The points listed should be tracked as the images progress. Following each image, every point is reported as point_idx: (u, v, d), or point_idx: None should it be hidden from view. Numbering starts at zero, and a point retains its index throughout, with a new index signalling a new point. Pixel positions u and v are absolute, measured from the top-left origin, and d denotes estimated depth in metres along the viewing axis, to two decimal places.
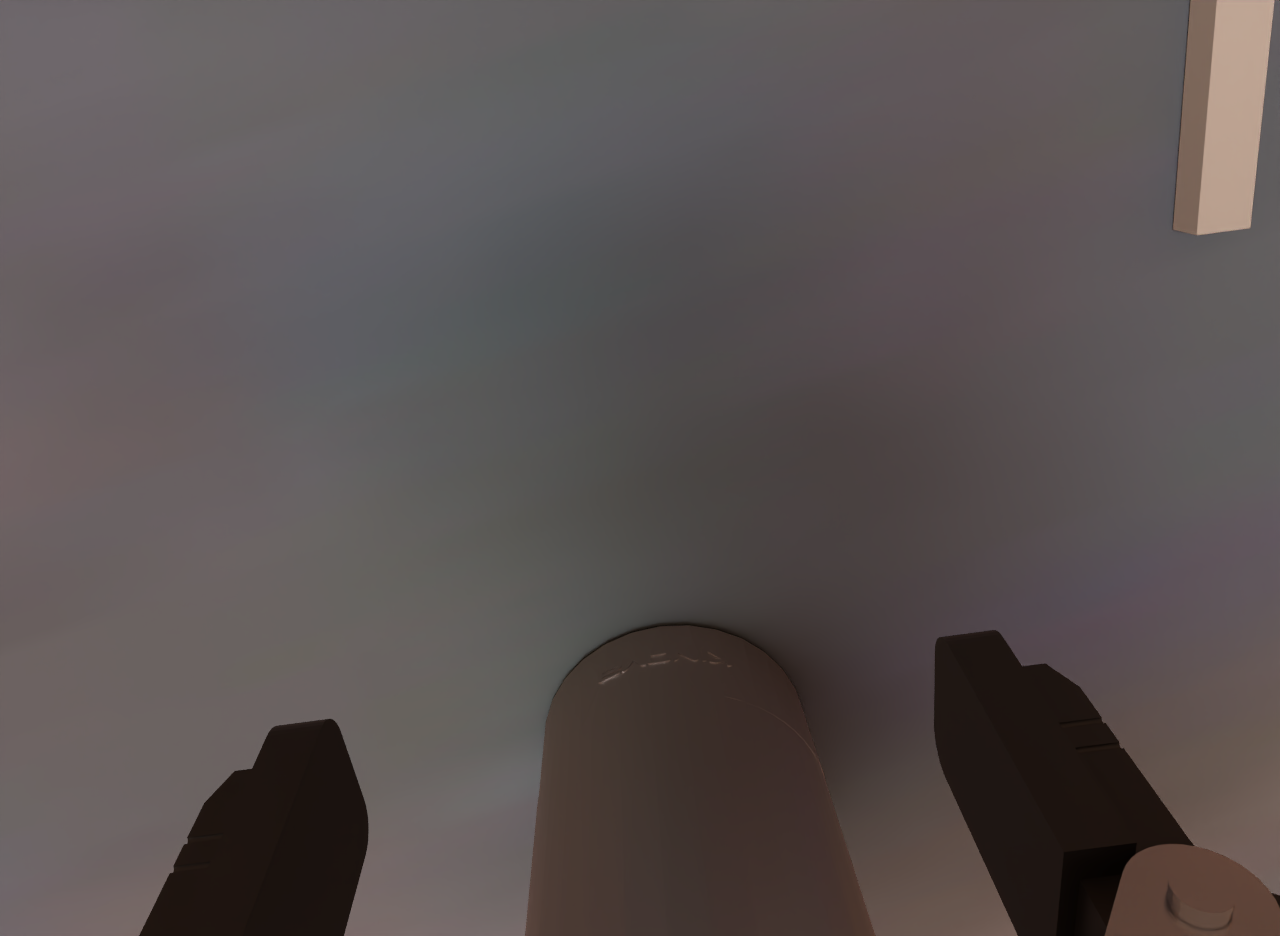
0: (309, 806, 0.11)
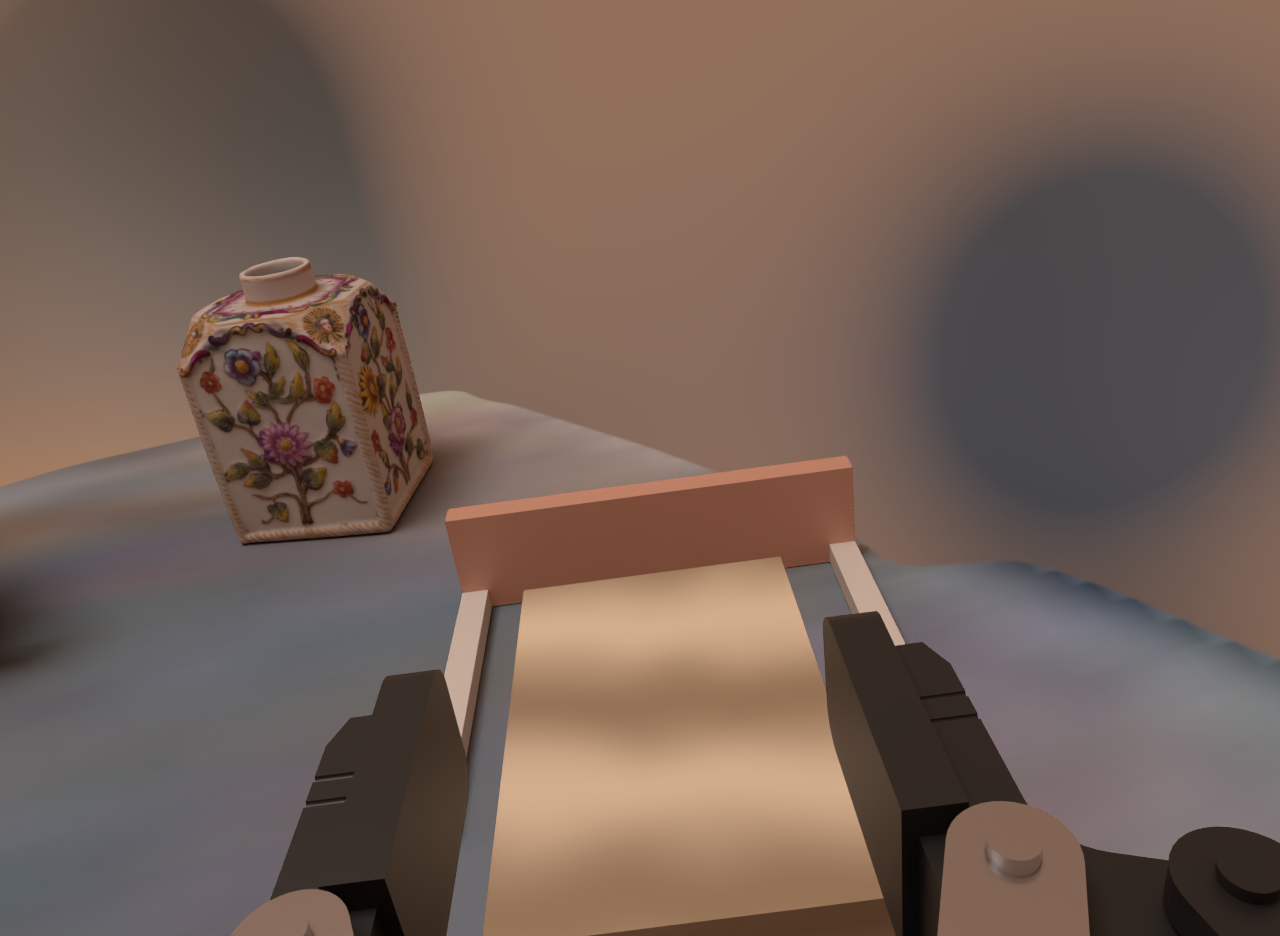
0: (428, 748, 0.12)
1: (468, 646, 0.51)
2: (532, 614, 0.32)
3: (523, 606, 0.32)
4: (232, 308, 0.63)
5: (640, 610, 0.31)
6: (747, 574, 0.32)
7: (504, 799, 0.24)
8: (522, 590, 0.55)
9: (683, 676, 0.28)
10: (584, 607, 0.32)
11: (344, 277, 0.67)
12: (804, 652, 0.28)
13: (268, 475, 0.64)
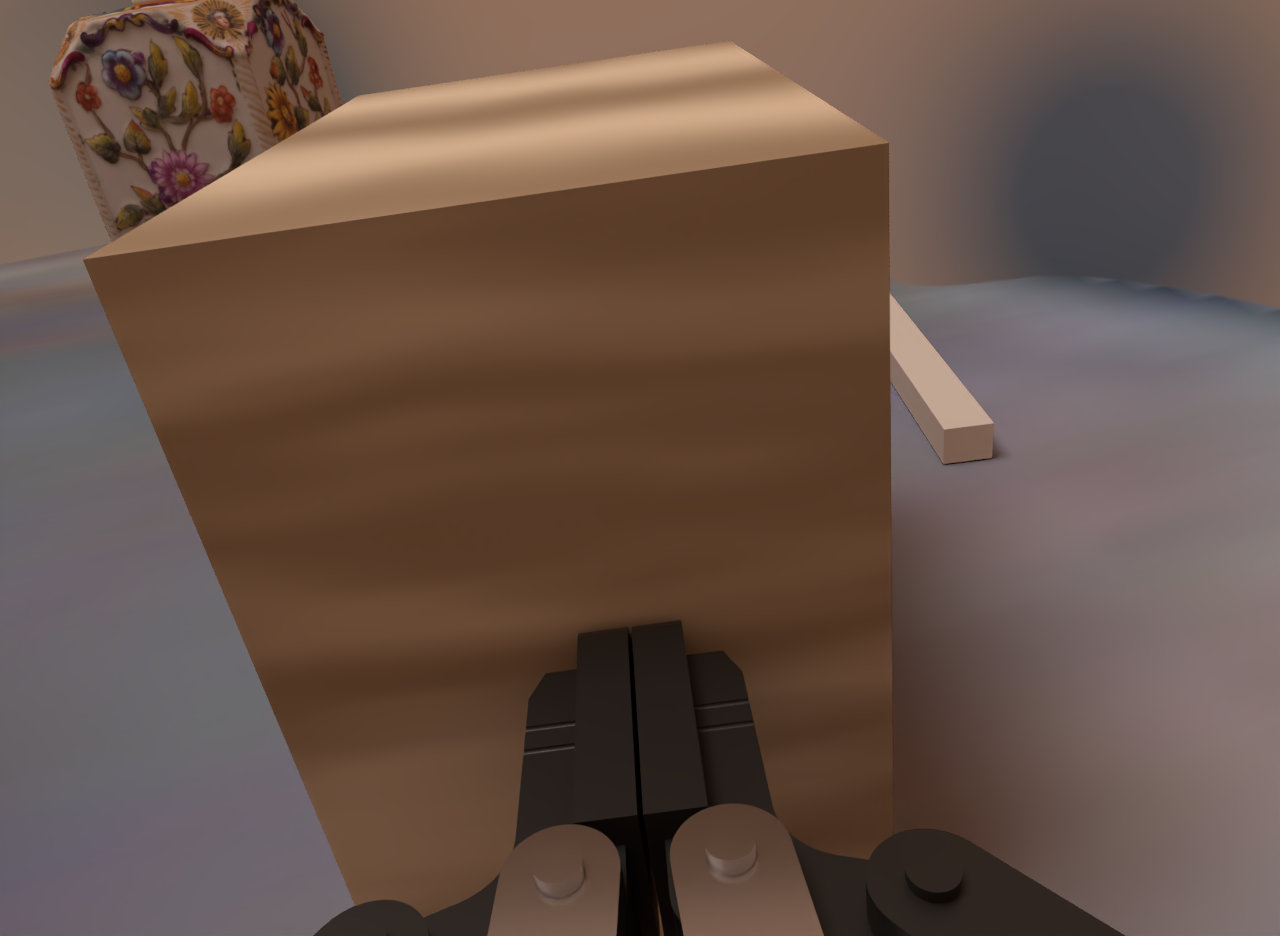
0: (633, 699, 0.12)
1: None
2: (360, 102, 0.22)
3: (351, 101, 0.22)
4: None
5: (515, 82, 0.21)
6: (678, 52, 0.22)
7: (227, 178, 0.14)
8: None
9: (560, 96, 0.18)
10: (437, 90, 0.21)
11: None
12: (751, 65, 0.18)
13: None
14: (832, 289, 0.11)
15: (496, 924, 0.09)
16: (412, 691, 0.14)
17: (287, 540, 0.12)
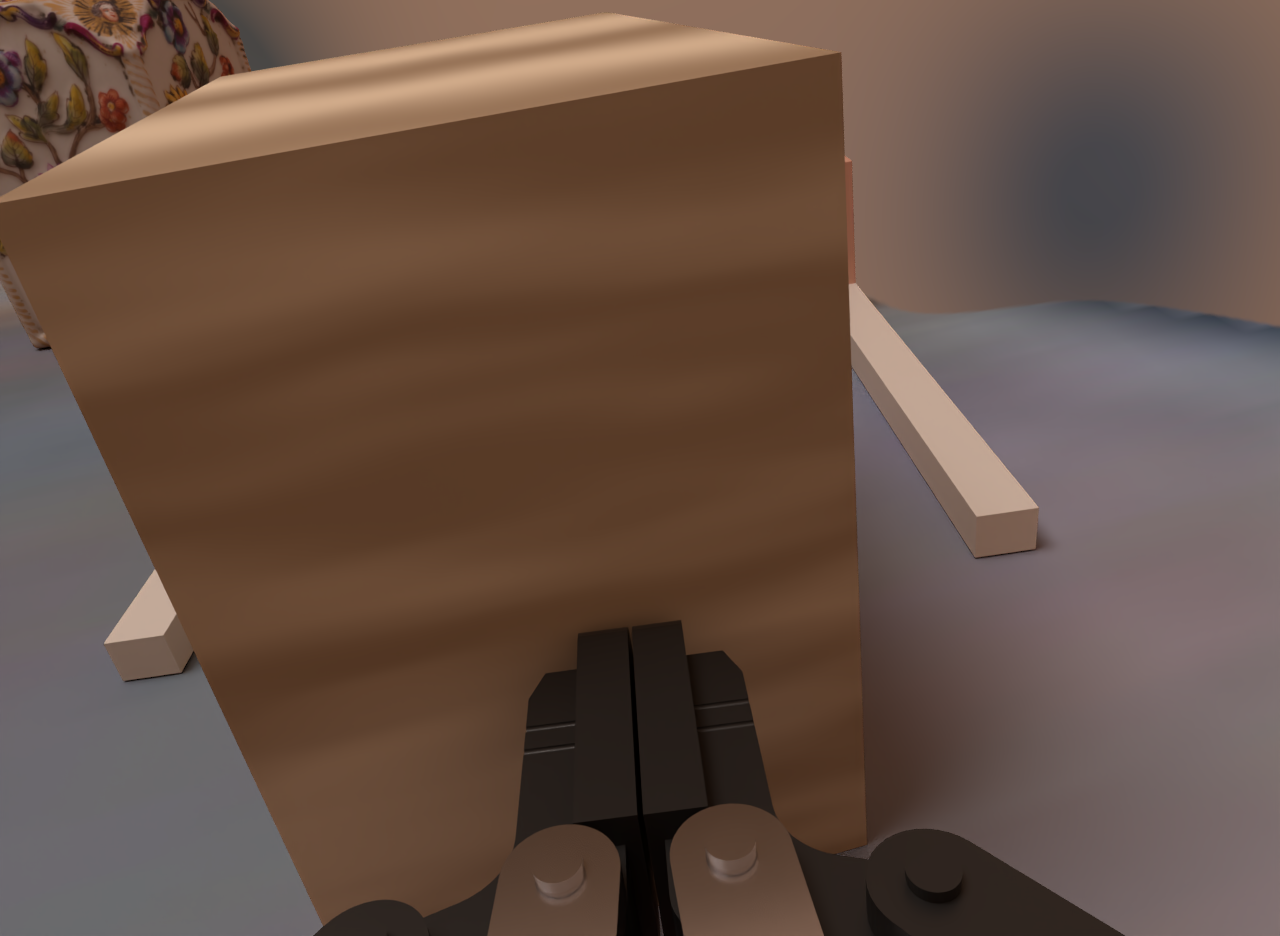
0: (633, 699, 0.12)
1: None
2: (227, 80, 0.20)
3: (215, 80, 0.21)
4: None
5: (395, 53, 0.20)
6: (557, 22, 0.22)
7: (114, 139, 0.13)
8: None
9: (456, 57, 0.17)
10: (310, 66, 0.20)
11: None
12: (646, 23, 0.18)
13: None
14: (792, 204, 0.11)
15: (496, 924, 0.09)
16: (376, 671, 0.13)
17: (233, 516, 0.11)
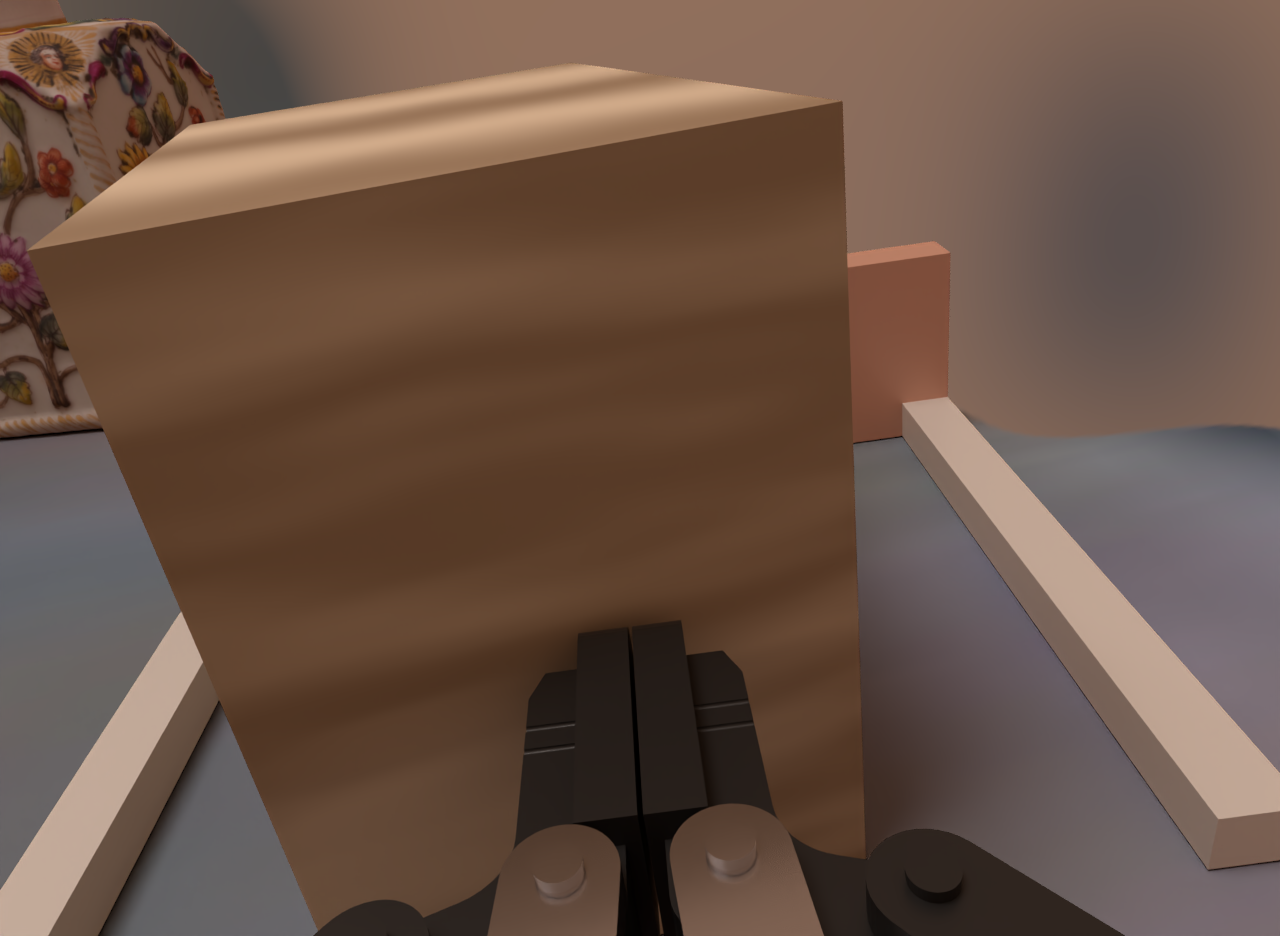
0: (633, 699, 0.12)
1: None
2: (201, 128, 0.20)
3: (187, 128, 0.21)
4: None
5: (371, 101, 0.21)
6: (527, 72, 0.22)
7: (120, 185, 0.13)
8: None
9: (441, 106, 0.18)
10: (285, 114, 0.21)
11: None
12: (622, 73, 0.19)
13: None
14: (798, 241, 0.12)
15: (496, 924, 0.09)
16: (397, 705, 0.13)
17: (261, 554, 0.11)
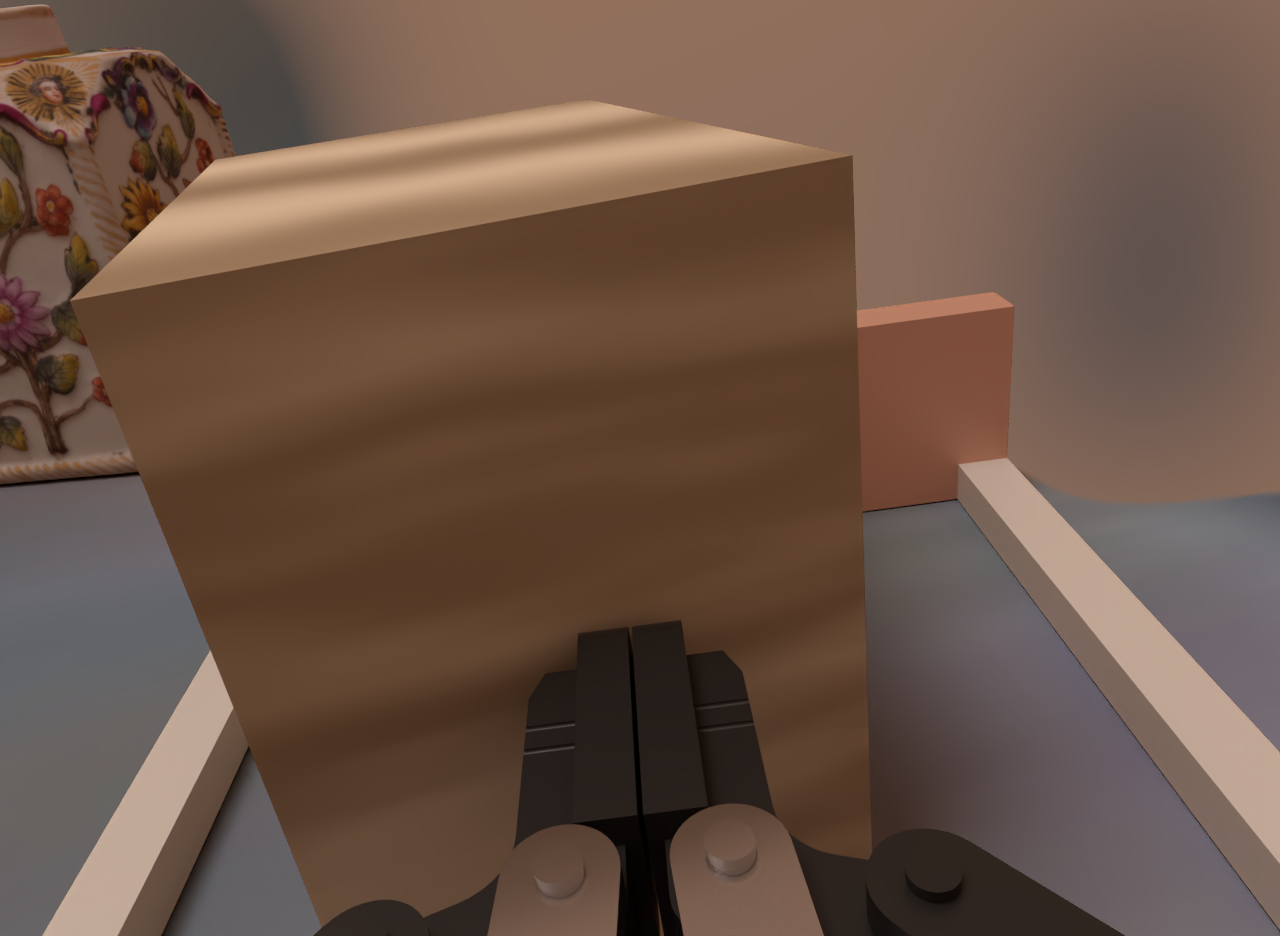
0: (633, 699, 0.12)
1: None
2: (226, 164, 0.21)
3: (213, 164, 0.21)
4: None
5: (392, 139, 0.21)
6: (543, 109, 0.23)
7: (153, 229, 0.14)
8: None
9: (461, 146, 0.18)
10: (308, 150, 0.21)
11: None
12: (637, 114, 0.19)
13: None
14: (809, 288, 0.12)
15: (496, 924, 0.09)
16: (415, 736, 0.13)
17: (286, 589, 0.12)
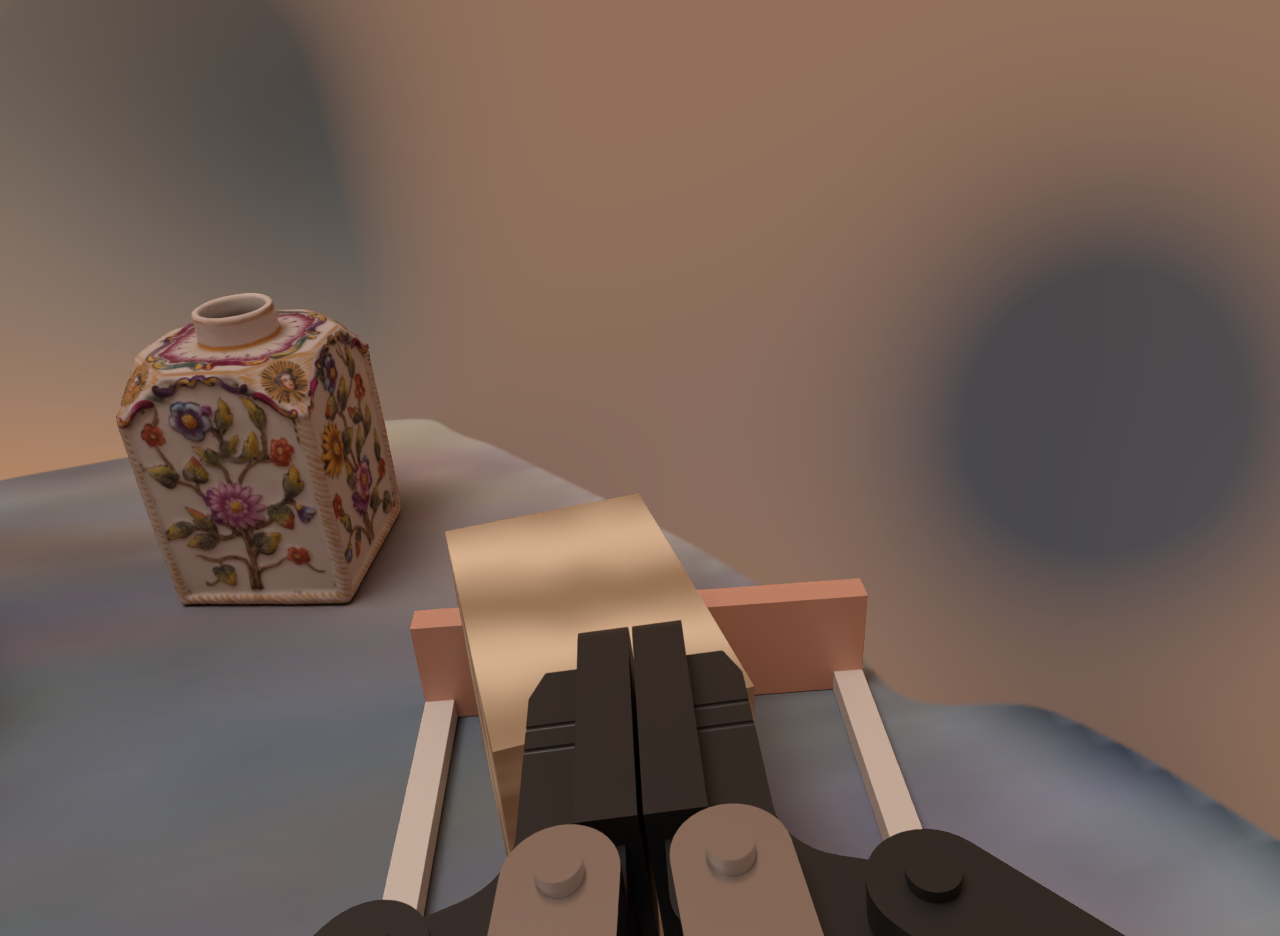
0: (633, 699, 0.12)
1: (429, 778, 0.45)
2: (458, 547, 0.41)
3: (448, 542, 0.41)
4: (182, 350, 0.56)
5: (542, 538, 0.41)
6: (616, 507, 0.43)
7: (478, 667, 0.34)
8: None
9: (587, 578, 0.39)
10: (498, 539, 0.41)
11: (311, 317, 0.60)
12: (669, 555, 0.40)
13: (215, 536, 0.58)
14: None
15: (496, 924, 0.09)
16: None
17: None
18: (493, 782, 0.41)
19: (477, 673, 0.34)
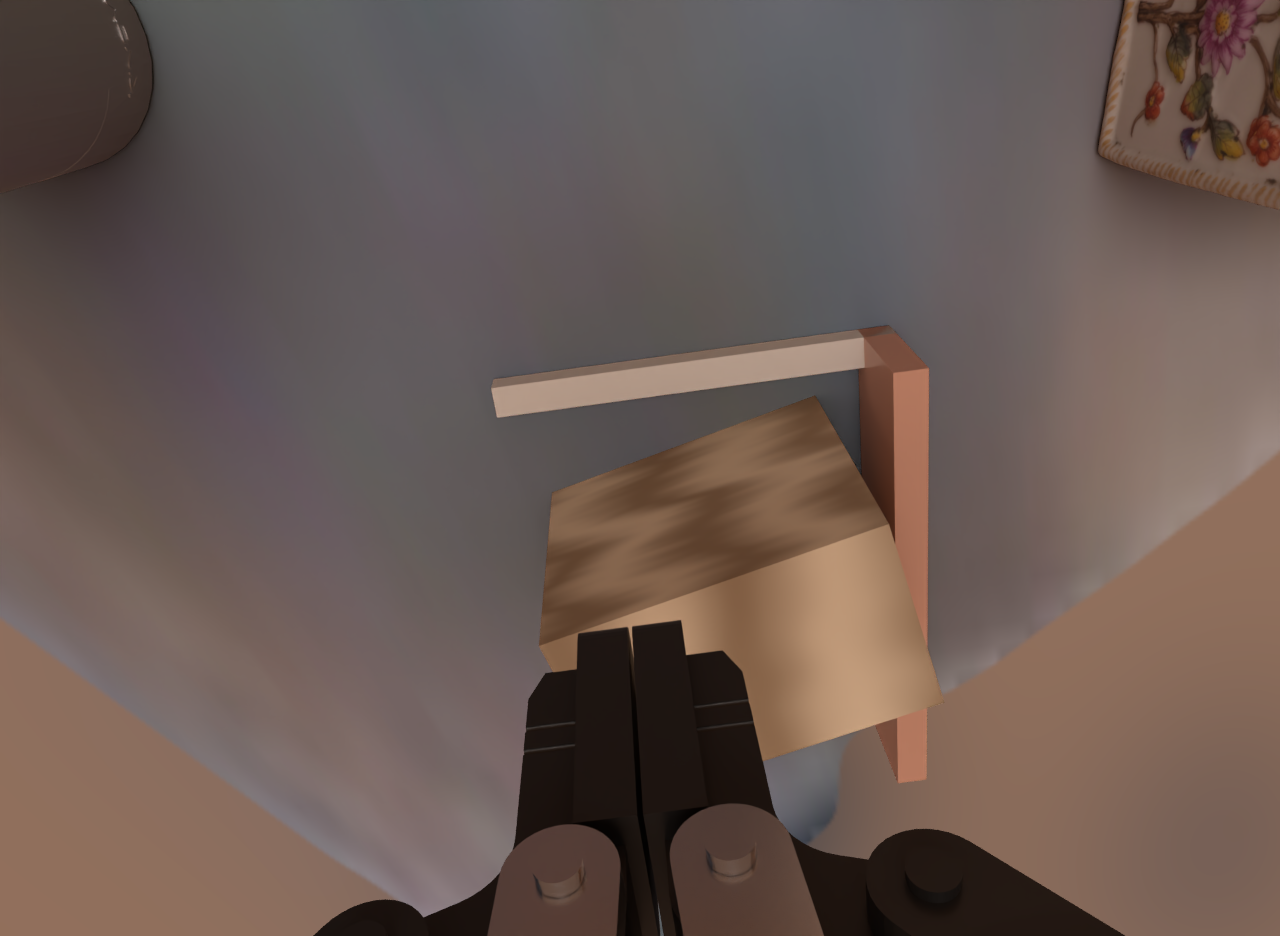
0: (633, 699, 0.12)
1: (750, 372, 0.45)
2: (851, 546, 0.35)
3: (863, 534, 0.35)
4: None
5: (862, 625, 0.37)
6: (916, 685, 0.38)
7: (643, 612, 0.36)
8: (863, 403, 0.46)
9: (780, 676, 0.38)
10: (864, 583, 0.36)
11: None
12: (816, 738, 0.39)
13: None
14: None
15: (496, 924, 0.09)
16: None
17: None
18: (691, 482, 0.43)
19: (635, 614, 0.36)
